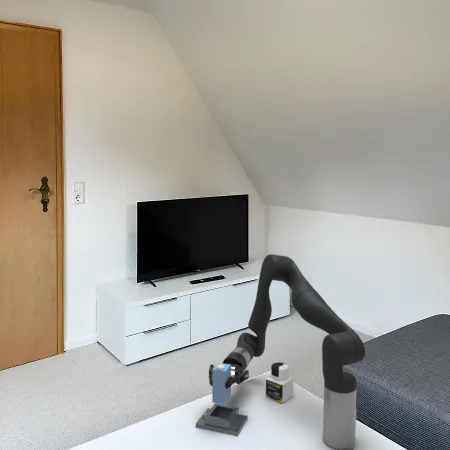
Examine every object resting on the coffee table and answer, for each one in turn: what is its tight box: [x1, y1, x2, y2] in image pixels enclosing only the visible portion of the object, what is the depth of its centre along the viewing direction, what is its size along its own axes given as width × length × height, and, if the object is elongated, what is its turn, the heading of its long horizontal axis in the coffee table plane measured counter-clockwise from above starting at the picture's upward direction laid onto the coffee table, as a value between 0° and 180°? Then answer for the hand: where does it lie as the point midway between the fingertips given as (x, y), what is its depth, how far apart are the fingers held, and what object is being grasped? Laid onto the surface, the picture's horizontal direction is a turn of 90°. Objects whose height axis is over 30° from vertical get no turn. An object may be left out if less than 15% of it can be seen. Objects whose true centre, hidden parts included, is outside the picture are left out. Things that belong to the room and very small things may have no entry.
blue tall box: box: [211, 362, 232, 406], centre depth 150 cm, size 4×5×12 cm
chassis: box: [195, 403, 249, 437], centre depth 152 cm, size 14×10×4 cm
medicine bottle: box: [265, 361, 294, 404], centre depth 168 cm, size 7×7×12 cm
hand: (218, 384), depth 148 cm, fingers closed on blue tall box, 4 cm apart
